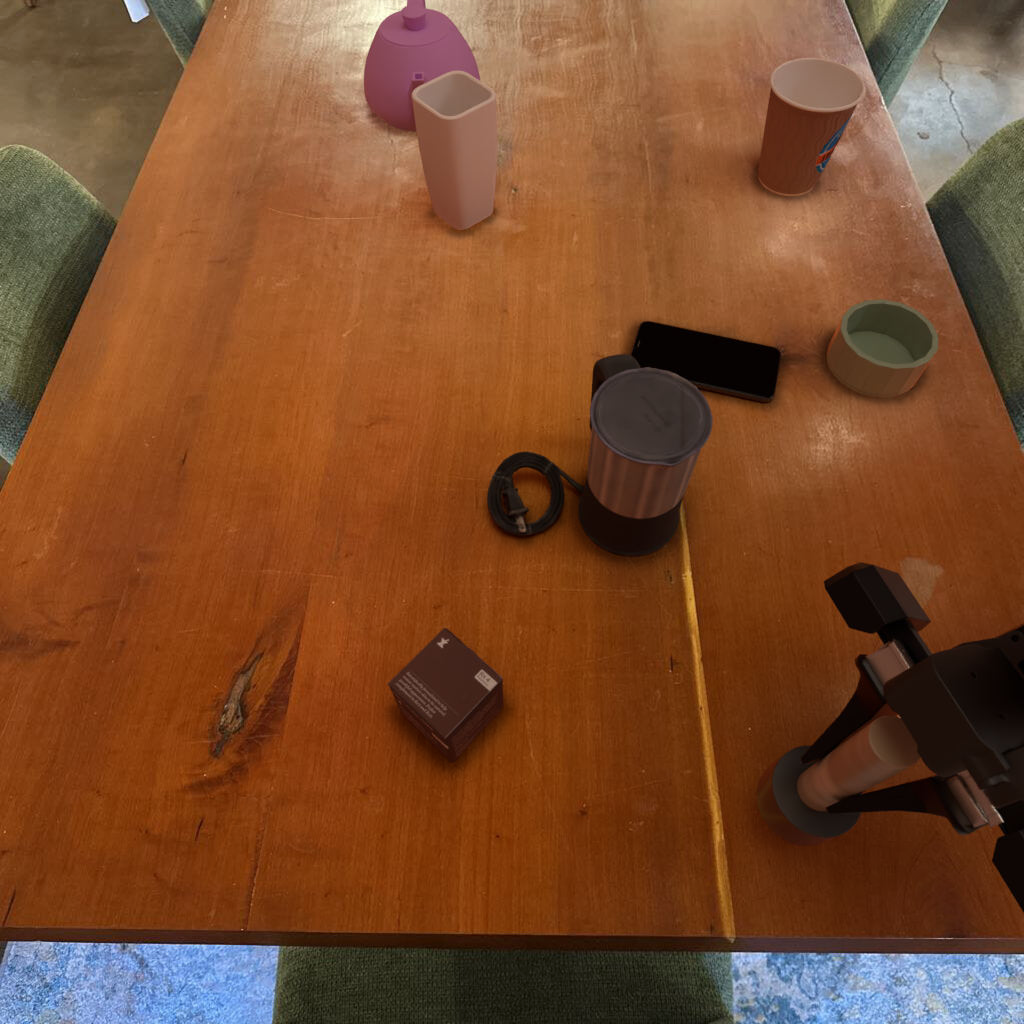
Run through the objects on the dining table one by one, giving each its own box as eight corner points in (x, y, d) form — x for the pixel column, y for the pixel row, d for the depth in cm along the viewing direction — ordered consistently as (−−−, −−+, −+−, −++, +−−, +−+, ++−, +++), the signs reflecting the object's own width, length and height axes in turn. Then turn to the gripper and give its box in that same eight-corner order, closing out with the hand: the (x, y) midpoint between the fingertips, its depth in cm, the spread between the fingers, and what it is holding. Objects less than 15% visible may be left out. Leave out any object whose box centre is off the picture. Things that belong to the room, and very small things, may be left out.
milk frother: (700, 527, 69) (739, 427, 56) (555, 614, 65) (562, 527, 52) (608, 423, 75) (624, 311, 63) (470, 496, 71) (458, 392, 58)
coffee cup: (820, 214, 91) (858, 117, 81) (735, 194, 93) (761, 98, 83) (835, 164, 96) (872, 67, 85) (754, 146, 98) (780, 50, 88)
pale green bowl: (920, 342, 80) (940, 310, 76) (915, 407, 76) (936, 377, 72) (831, 323, 82) (846, 291, 78) (821, 386, 77) (836, 355, 73)
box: (399, 712, 61) (384, 682, 54) (452, 659, 63) (444, 624, 57) (453, 765, 58) (444, 740, 52) (506, 708, 61) (504, 677, 54)
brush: (845, 774, 52) (956, 705, 39) (836, 858, 50) (953, 816, 36) (763, 748, 53) (843, 672, 40) (750, 830, 51) (831, 778, 37)
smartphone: (781, 353, 80) (639, 323, 82) (783, 347, 79) (641, 317, 81) (772, 406, 76) (624, 373, 78) (774, 401, 75) (625, 368, 78)
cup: (421, 213, 92) (404, 92, 80) (468, 187, 95) (458, 66, 82) (459, 243, 89) (447, 122, 77) (506, 216, 92) (502, 94, 79)
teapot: (368, 64, 109) (352, -30, 99) (476, 57, 110) (471, -38, 100) (366, 158, 98) (347, 62, 88) (487, 150, 99) (482, 53, 88)
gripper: (927, 478, 36) (675, 638, 44) (1242, 895, 27) (851, 1004, 35) (984, 516, 44) (762, 645, 52) (1242, 848, 35) (925, 945, 42)
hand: (816, 785), depth 45 cm, fingers closed on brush, 2 cm apart
